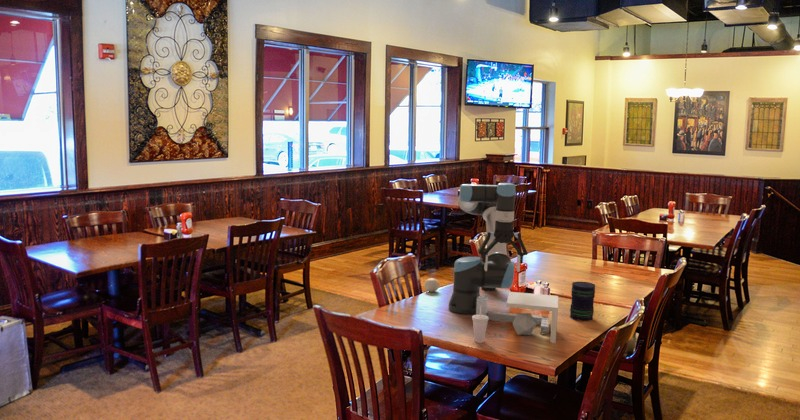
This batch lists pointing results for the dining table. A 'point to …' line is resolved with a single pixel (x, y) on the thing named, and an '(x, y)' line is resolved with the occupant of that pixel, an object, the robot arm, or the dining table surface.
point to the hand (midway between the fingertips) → (501, 270)
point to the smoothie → (479, 327)
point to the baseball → (431, 284)
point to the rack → (536, 306)
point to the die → (524, 323)
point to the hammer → (508, 315)
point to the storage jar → (582, 301)
